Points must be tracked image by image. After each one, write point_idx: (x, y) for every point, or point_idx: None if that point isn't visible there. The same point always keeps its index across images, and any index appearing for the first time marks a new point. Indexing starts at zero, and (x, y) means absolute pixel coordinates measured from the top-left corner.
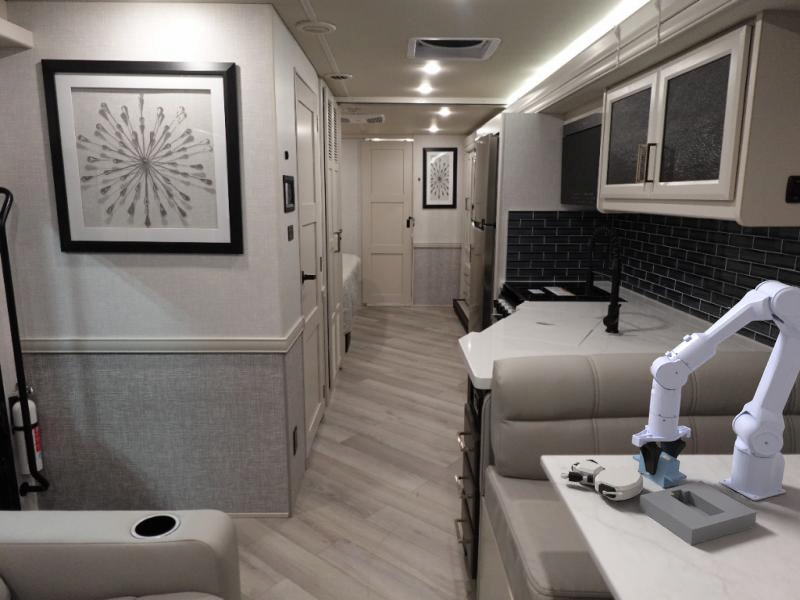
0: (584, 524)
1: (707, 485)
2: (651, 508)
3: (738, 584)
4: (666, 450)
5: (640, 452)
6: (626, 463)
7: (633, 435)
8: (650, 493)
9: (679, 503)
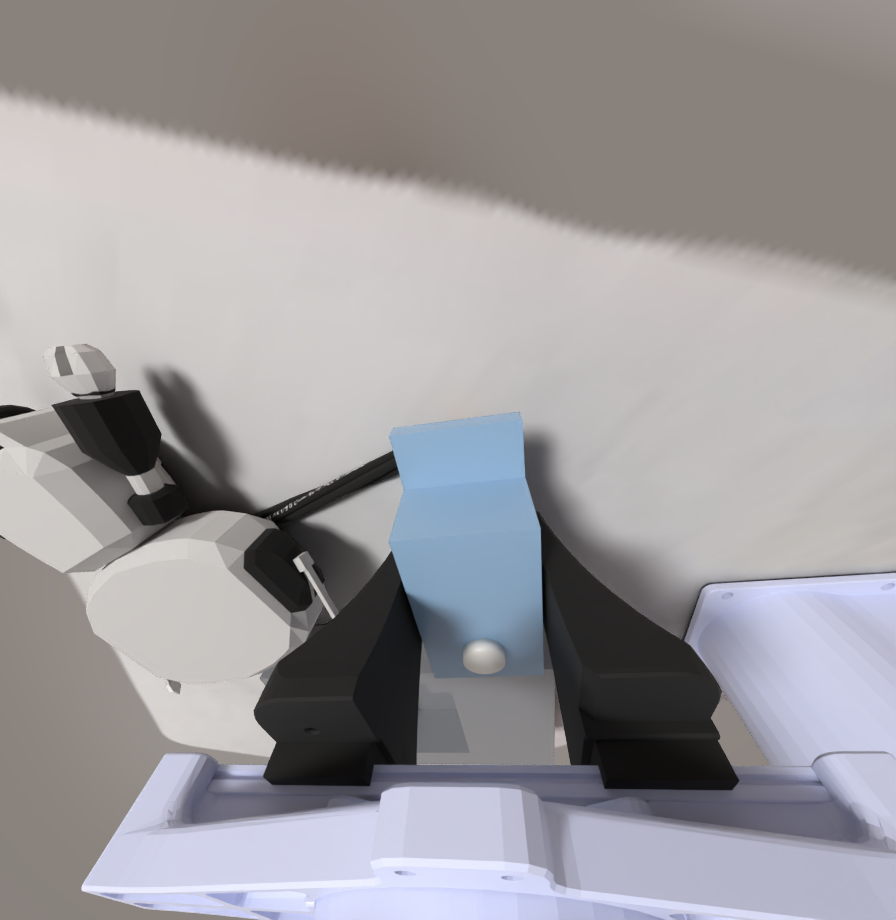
0: None
1: (550, 687)
2: None
3: None
4: (554, 625)
5: (394, 528)
6: (410, 335)
7: (89, 891)
8: None
9: None
